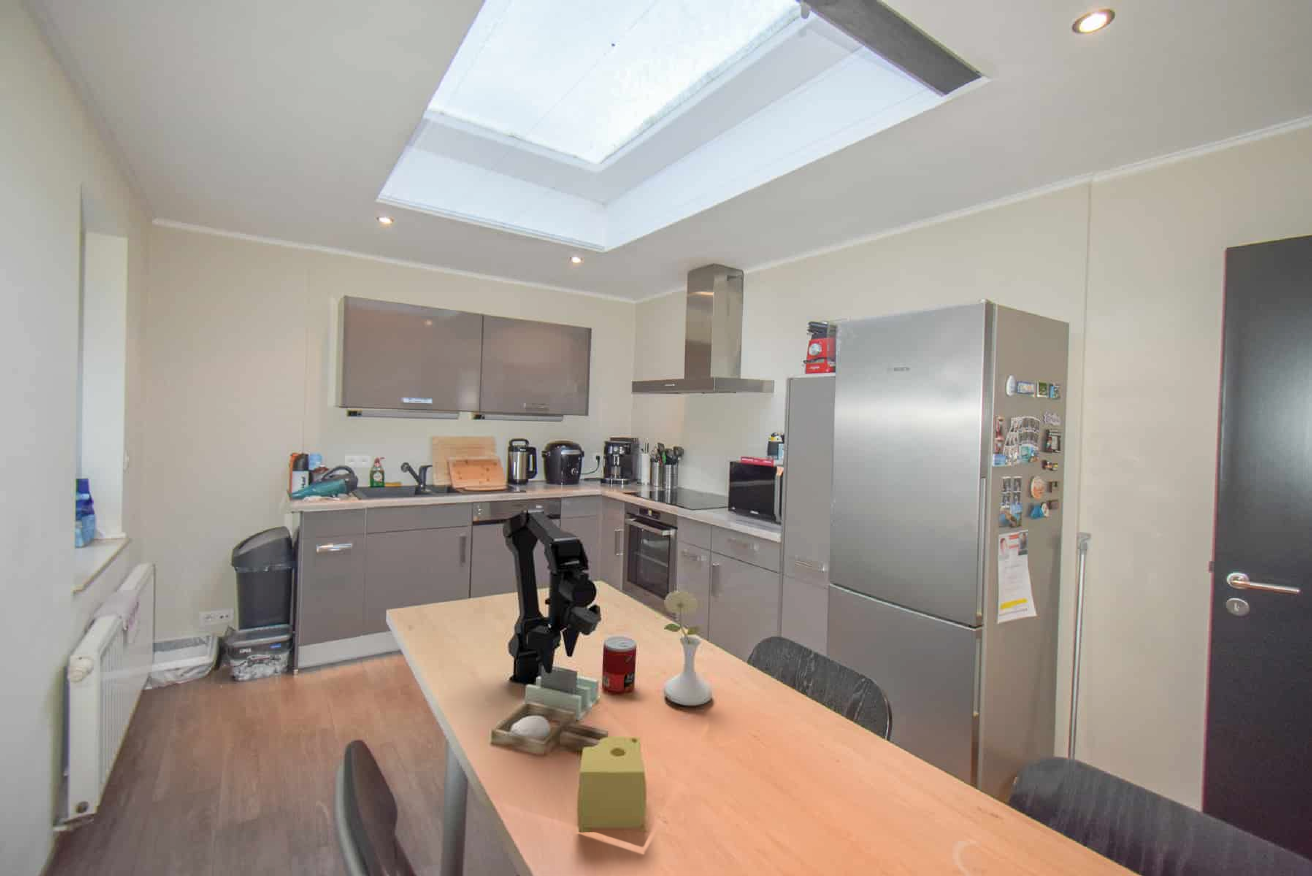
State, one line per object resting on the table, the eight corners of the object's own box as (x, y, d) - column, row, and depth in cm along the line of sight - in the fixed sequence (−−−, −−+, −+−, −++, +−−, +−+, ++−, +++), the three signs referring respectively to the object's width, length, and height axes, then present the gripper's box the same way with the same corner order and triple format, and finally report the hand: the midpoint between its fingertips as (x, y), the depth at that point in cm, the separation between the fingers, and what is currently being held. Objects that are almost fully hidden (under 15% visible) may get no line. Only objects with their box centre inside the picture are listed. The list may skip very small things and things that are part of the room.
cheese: (578, 791, 98) (581, 734, 98) (641, 791, 99) (643, 734, 99) (575, 835, 88) (578, 772, 88) (645, 834, 89) (647, 772, 89)
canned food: (630, 697, 132) (632, 650, 132) (597, 692, 134) (599, 646, 133) (637, 682, 140) (640, 638, 139) (606, 678, 141) (608, 634, 141)
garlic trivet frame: (491, 745, 110) (491, 730, 110) (526, 714, 122) (527, 700, 122) (543, 760, 107) (544, 744, 106) (575, 726, 118) (575, 712, 118)
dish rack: (521, 709, 124) (522, 687, 124) (547, 687, 135) (548, 667, 134) (578, 724, 120) (579, 700, 119) (600, 700, 130) (601, 678, 130)
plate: (539, 702, 126) (541, 667, 125) (543, 699, 127) (545, 664, 127) (572, 710, 123) (573, 674, 123) (575, 707, 124) (577, 671, 124)
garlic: (514, 752, 109) (515, 733, 109) (504, 734, 115) (505, 716, 115) (554, 742, 113) (555, 723, 113) (543, 725, 119) (543, 708, 119)
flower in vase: (718, 694, 136) (724, 590, 135) (701, 716, 125) (707, 603, 124) (668, 681, 141) (673, 581, 140) (648, 701, 131) (653, 593, 130)
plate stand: (557, 752, 109) (558, 735, 109) (572, 736, 115) (573, 720, 115) (595, 762, 107) (596, 745, 107) (608, 745, 112) (609, 729, 112)
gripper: (575, 612, 113) (572, 690, 113) (613, 587, 130) (610, 655, 131) (526, 604, 116) (523, 679, 117) (570, 581, 134) (567, 646, 134)
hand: (559, 664), depth 125 cm, fingers open, 9 cm apart
